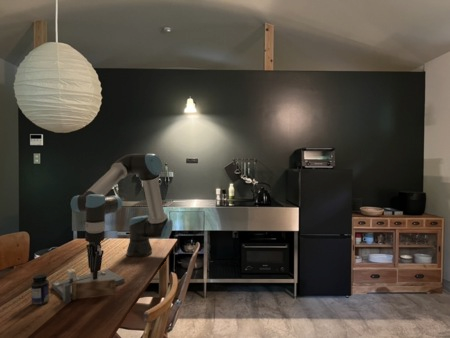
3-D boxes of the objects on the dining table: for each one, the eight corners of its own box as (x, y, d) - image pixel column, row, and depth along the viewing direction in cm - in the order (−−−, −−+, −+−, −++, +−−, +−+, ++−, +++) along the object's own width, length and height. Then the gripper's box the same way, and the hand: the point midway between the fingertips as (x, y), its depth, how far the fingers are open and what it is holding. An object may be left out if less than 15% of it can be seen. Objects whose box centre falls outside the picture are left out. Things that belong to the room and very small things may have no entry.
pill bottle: (45, 298, 129) (45, 271, 129) (51, 302, 126) (51, 275, 125) (28, 303, 125) (28, 276, 125) (34, 307, 121) (34, 279, 121)
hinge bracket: (68, 299, 128) (67, 282, 128) (70, 301, 126) (70, 284, 126) (62, 301, 127) (62, 284, 127) (65, 303, 125) (65, 286, 125)
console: (107, 273, 159) (107, 267, 159) (124, 282, 146) (124, 276, 146) (51, 287, 141) (51, 281, 141) (65, 299, 128) (64, 293, 128)
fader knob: (72, 279, 144) (72, 268, 144) (75, 282, 141) (75, 270, 141) (66, 280, 143) (66, 269, 143) (70, 283, 139) (70, 272, 139)
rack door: (115, 293, 134) (115, 278, 134) (115, 295, 132) (115, 279, 132) (72, 298, 129) (72, 282, 129) (71, 300, 127) (71, 283, 127)
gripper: (80, 229, 133) (79, 283, 134) (91, 235, 124) (90, 293, 125) (98, 227, 138) (97, 279, 139) (110, 232, 129) (108, 288, 130)
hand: (94, 286), depth 132 cm, fingers closed
